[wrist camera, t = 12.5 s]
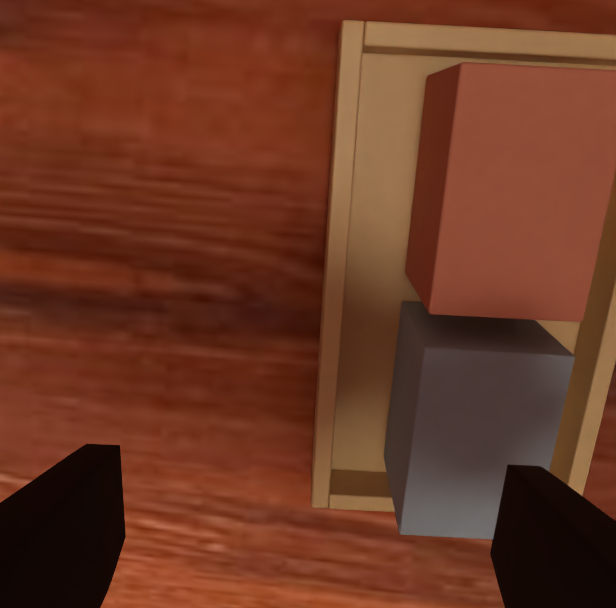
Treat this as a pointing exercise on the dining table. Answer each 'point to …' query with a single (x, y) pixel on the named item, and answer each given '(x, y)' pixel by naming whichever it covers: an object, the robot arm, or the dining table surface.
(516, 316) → the rose pad
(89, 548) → the robot arm
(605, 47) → the frame
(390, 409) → the tall grey box
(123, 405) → the dining table surface
